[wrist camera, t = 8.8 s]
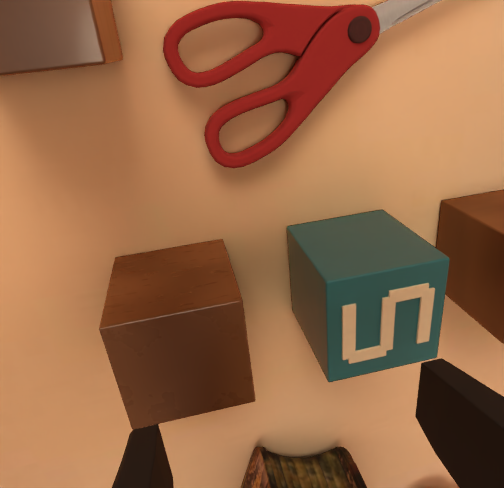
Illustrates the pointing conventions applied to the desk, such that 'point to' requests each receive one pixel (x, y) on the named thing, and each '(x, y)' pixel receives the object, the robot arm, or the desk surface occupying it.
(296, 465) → the book
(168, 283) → the block
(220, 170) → the desk surface
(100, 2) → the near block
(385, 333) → the block
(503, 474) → the robot arm
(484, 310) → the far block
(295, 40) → the scissors
